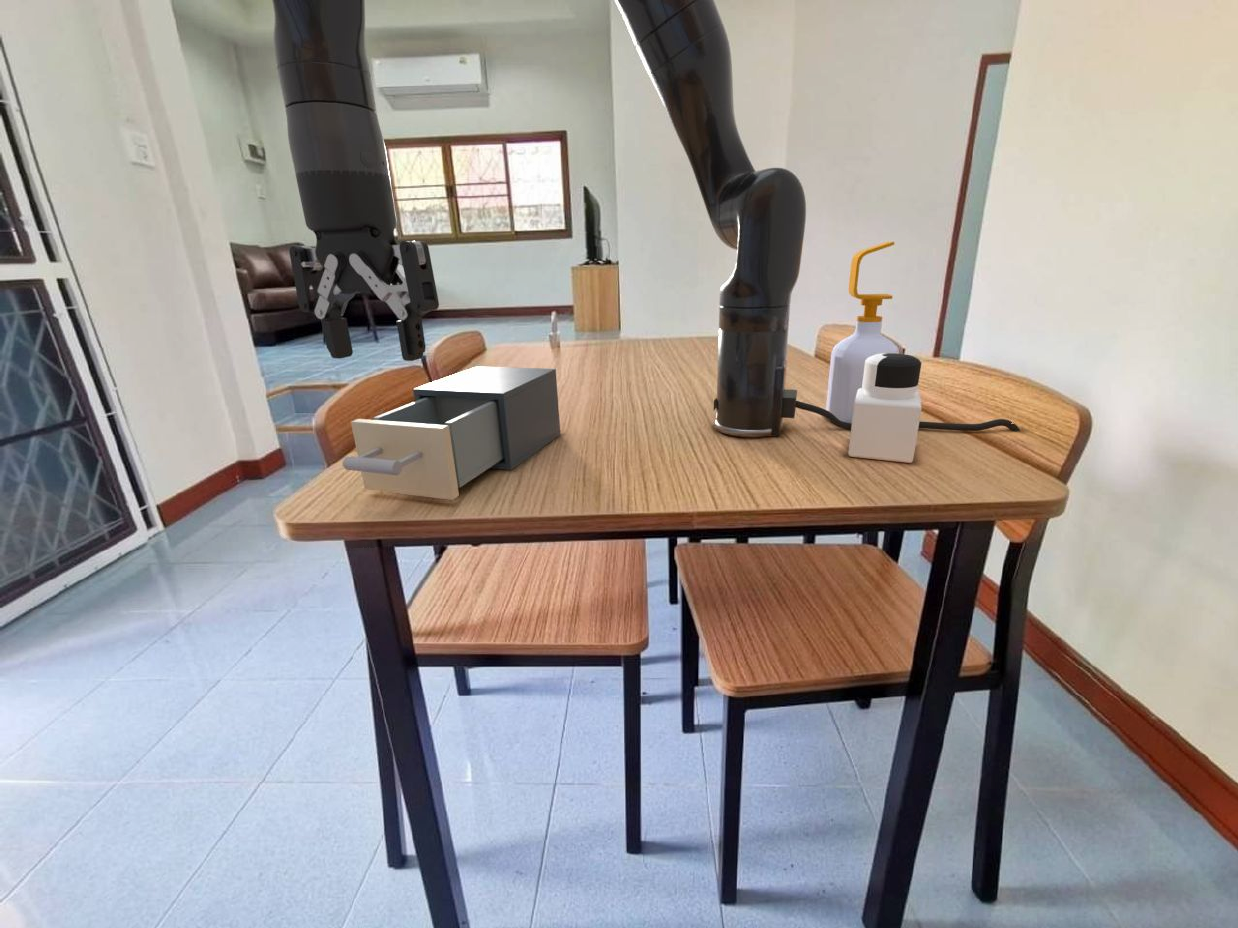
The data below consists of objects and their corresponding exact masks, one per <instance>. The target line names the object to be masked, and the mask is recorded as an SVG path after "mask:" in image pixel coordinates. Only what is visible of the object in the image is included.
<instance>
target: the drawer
mask: <svg viewBox="0 0 1238 928" xmlns="http://www.w3.org/2000/svg"><path fill="white" fill-rule="evenodd" d="M372 418H373V419H367V418H357V419H354V420H352V421H350V425H351V430H352V436H353V440H354V445H355V449H356V454H357V456H354V455H346V456H345V457H344V458H343V460H342V466H343V468H344V470H347V471H353V472H361V477H362V483H363V487H364V490H368V491H374V492H383V493H392V494H399V495H409V496H417V497H425V498H434V499H440V500H450V501H454V500H455V499H457V498H458V497H459V496H460V493H459V488H462V487H464V485H466V484H468V483H469V482H471V481H472V480H473V479H475V478H477V477H478V476H480V475H481V474H483V473H484V472H485V471H487V470H489V469H491V468H490V467H492V466H493V465H495V464H496V463H498V462H499V461H501V460H502V459H503V458H505V457H504V448H503V440H502V431H501V422H500V413H499V404H498V400H492V399H474V398H456V397H438V396H428V397H425V398H423V399H420V400H417V401H415V400H414V401H412V402H410V403H407V404H405V405H401V406H400V407H397V408H394V409H392V410H389V411H386V412H384V413H381V414H379V415H376V416H374V417H372Z"/></svg>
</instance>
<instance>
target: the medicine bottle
mask: <svg viewBox="0 0 1238 928" xmlns="http://www.w3.org/2000/svg"><path fill="white" fill-rule="evenodd" d="M921 370H922V361H921V359H919V358H917V357H916V356H913V355H911V354H905V353H899V354H896V353H883V354H876V355H873V356H871V357H868V358H867V359H866V360H865V367H864V375H863V383H862V388H859V389H858V391H857V395H856V398H855V402H854V409H853V418H852V426H851V430H850V435H849V444H848V452H847V453H848V457H852V458H859V459H870V460H879V461H888V462H895V463H896V462H898V463H907V464H912V463H913V462H914V459H915V458H914V457H915V451H916V447H917V438H918V434H919V428H918V427H919V421H921V415H922V410H923V409H922V408H923V406H922V400H921V393H920V392H919V391H918V388H919V382H920V377H921V376H920V374H921Z"/></svg>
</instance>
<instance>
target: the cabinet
mask: <svg viewBox="0 0 1238 928" xmlns="http://www.w3.org/2000/svg"><path fill="white" fill-rule="evenodd" d="M557 380H558V379H557V369H556V368H543V367H542V368H541V367H540V368H538V367H512V366H511V367H510V366H485V365H483V366H482V365H481V366H479V365H477V366H474V367H471V368H469V369H466V370H462V371H459V372H457V373H454V374H452V375H451V374H450V375H449V376H445V377H443V378H440V379H437V380H434V381H432V382H428V383H425V384H423V385H419V386H418V387H414V388H413V389H412V391H413V397H414V402H415V401H417V400H420V399H423V398H425V397H428V396H438V397H456V398H474V399H492V400H498V404H499V413H500V422H501V431H502V440H503V448H504V457H505V458H503V459H502V460H501V461H499V462H498V463H496V464H495V465H493V466H492V467H490V468H489V469H494V470H503V471H504V470H505V471H512V470H514V469H515V468H517V467H518V466H519V465H521V464H522V463H523V462H526V460H527V459H529V458H531V457H532V456H533V455H535V454H536V453H538V452H539V451H540V450H542V449H543V448H544V447H546V446H547V445H548V444H549V443H551V442H552V441H554V440H555V439H557V438H558V437H559V436H561V423H560V421H561V420H560V409H559V396H558V394H559V393H558V381H557Z"/></svg>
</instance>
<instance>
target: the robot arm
mask: <svg viewBox="0 0 1238 928" xmlns="http://www.w3.org/2000/svg"><path fill="white" fill-rule="evenodd" d="M271 1H272V6H273V11H274V12H273V13H274V25H273V52H274V60H275V65H276V70H277V75H278V79H279V84H280V85H279V86H280V90H281V95H282V100H283V105H284V108H285V115H286V126H287V138H288V145H289V150H290V155H291V159H292V160H291V161H292V164H293V169H294V173H295V174H294V175H295V180H296V183H297V184H296V185H297V188H298V193H299V198H300V203H301V208H302V213H303V217H304V222H305V225H306V227H307V229H308V230H310V231H311V232H313V233H314V234H315V238H316V241H315V242H316V243H315V245H314V246H311V245H294V246H293V245H292V246H290V247H289V258H290V263H291V269H292V276H293V279H294V286H295V292H296V297H297V303H298V308H299V310H300V311H301V312H302V313H310V314H312V315H315V316H316V318H317V319H319V320H320V322H321V327H322V331H323V336H324V341H325V346H326V348H327V350H328V352H329V354H330V356H331V358H333V359H337V360H338V359H339V360H340V359H345V358H349V357H352V356H353V353H354V350H353V345H352V339H351V334H350V330H349V324H348V319H347V317H343V316H344V314H345V312H346V309H347V306H348V304H349V302H350V300H352V299H353V298H354V297H355V295H356V294H363V295H370V294H371V295H373V294H375V295H376V297H377V298H378V300H380V301H382V302H385V303H386V304H387V306H388V307H389V308H390V309H391V311H392V312H393V314H394V315H395V316H396V318H397V319H398V320H396V327H397V328H396V329H397V334H398V339H399V346H400V353H401V357H402V360H403V361H405V362H413V361H417V360H420V359H422V358H423V357H424V353H425V352H426V347H427V346H426V341H425V333H424V332H425V331H424V325H423V317H424V316H425V315H426V314H428V313H430V312H432V311H436V310H438V309H439V308H440V301H439V296H438V291H437V286H436V281H435V275H434V270H433V263H432V259H431V254H430V253H431V252H430V249H429V245H428V243H426V242H425V241H424V240H403V241H401V242H400V243H398V241H397V239H396V236H395V230H396V228H397V227H398V220H397V215H396V214H397V213H396V208H395V201H394V195H393V194H394V193H393V189H392V181H391V175H390V174H391V173H390V170H389V162H388V155H387V149H386V145H385V140H384V136H383V133H382V129H381V126H380V121H379V118H378V112H377V105H376V99H375V93H374V86H373V79H372V74H371V69H370V64H369V60H368V57H367V56H368V53H367V44H366V5H365V1H366V0H271ZM614 1H615V4H616V6H617V8H618V10H619V11H620V14H621V15H622V16H621V17H622V19H623V20H624V22H625V25H626V28H627V30H628V32H629V34H630V36H631V39H632V42H633V44H634V46H635V47H636V51H637V53H638V56H639V57H640V59H641V61H642V64H643V66H644V68H645V70H646V73H647V74H648V77H649V79H650V81H651V82H652V84H653V87H654V88H655V91H656V92H657V94H658V96H659V98H660V100H661V103H662V105H663V107H664V109H665V112H666V114H667V116H668V118H669V121H670V123H671V125H672V127H673V129H674V132H675V134H676V136H677V137H678V139H679V141H680V144H681V146H682V147H683V151H684V152H685V154H686V156H687V159H688V162H689V165H690V167H691V169H692V172H693V175H694V177H695V180H696V183H697V186H698V189H699V192H700V195H701V198H702V201H703V204H704V206H705V209H706V213H707V216H708V218H709V221H710V223H711V226H712V228H713V230H714V232H715V234H716V236H717V237H718V238H719V240H720V241H721V242H722V243H723V244H724V245H726V246H727V247H728V248H729V249H732V250H735V251H736V258H735V259H736V261H735V266H734V270H733V272H732V273H731V275H730V277H729V278H728V279H727V280H725V281H724V282H723V283H722V284H721V286H720V289H719V306H718V307H719V308H718V310H719V311H718V335H717V336H718V337H717V338H718V341H717V342H718V343H717V344H718V345H717V372H716V373H717V374H716V398H715V399H714V400H713V411H715V419H714V428H715V430H716V431H718V432H719V433H722V434H725V435H728V436H731V437H732V436H733V437H740V438H764V437H765V438H766V437H770V436H771V437H780V436H781V432H782V430H783V424H784V423H783V422H784V421H783V420H784V419H795V415H796V409H800V410H803V411H807V412H811V413H814V414H817V415H818V416H822V417H824V418H826V419H827V420H828V421H829V422H830V423H831V424H833V425H834V426H835V427H837V428H840V429H844V430H849V431H851V426H852V423H847V422H843V421H840V420H839V419H837V418H836V417H835V416H834V415H833V414H832V413H830V412H829V411H827V410H826V408H825V409H824V408H823V407H820V406H817V405H813V404H811V403H806V402H803V401H799V400H797V397H798V389H787V388H786V379H787V367H788V360H787V357H788V356H787V354H788V340H789V326H790V313H791V302H792V301H791V300H792V294H793V290H794V289H795V286H796V284H797V282H798V279H799V275H800V271H801V262H802V254H803V245H804V240H805V239H804V238H805V230H806V221H807V202H806V194H805V191H804V187H803V185H802V182H801V181H800V179H799V178H798V176H797V175H795V174H794V173H793V172H792V171H790V170H789V169H787V168H783V167H769V168H764V169H760V170H756V169H755V168H754V166H753V164H752V162H751V160H750V158H749V155H748V152H747V151H746V148H745V145H744V144H743V141H742V139H741V136H740V133H739V130H738V127H737V122H736V116H735V108H734V107H735V105H734V81H733V80H734V79H733V63H732V53H731V46H730V42H729V37H728V35H727V30H726V28H725V26H724V23H723V21H722V18H721V15H720V12H719V10H718V8H717V5H716V2H715V0H614ZM399 266H401V267H402V268H403V273H404V276H403V274H402V273H401V272H400V270H399V269H398V267H399ZM310 287H312V293H313V298H312V296H311V295H312V294H311V290H310ZM1011 421H1012V420H1009V419H1005V418H998V419H992V420H989V421H985V422H980V423H979V422H978V423H952V422H934V421H921V420H920V421H919V427H918V429H924V430H925V429H928V430H940V431H960V432H978V431H979V432H980V431H984V430H989V429H993V428H996V427H997V428H998V427H1006V428H1007V429H1008V430H1009V431H1011V432H1021V428H1019V426H1018V425H1017V424H1016V423H1015V422H1013V421H1012V422H1013V423H1014V424H1011V423H1012V422H1011Z"/></svg>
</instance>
